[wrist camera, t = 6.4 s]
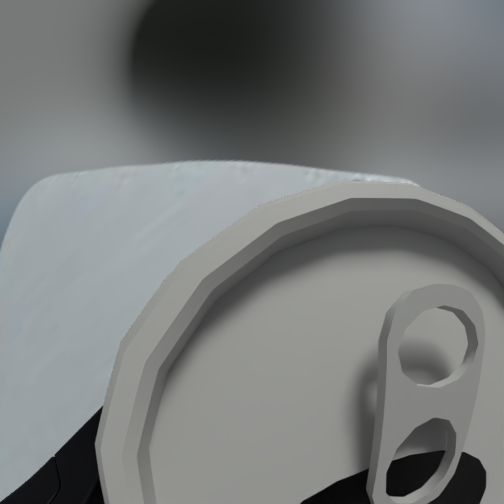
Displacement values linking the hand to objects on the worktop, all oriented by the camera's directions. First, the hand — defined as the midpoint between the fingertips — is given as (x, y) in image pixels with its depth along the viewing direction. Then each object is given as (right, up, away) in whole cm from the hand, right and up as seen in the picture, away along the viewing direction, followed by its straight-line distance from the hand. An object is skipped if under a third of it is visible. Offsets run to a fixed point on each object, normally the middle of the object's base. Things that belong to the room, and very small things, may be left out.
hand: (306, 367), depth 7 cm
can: (0, -4, +6) cm, 7 cm away
